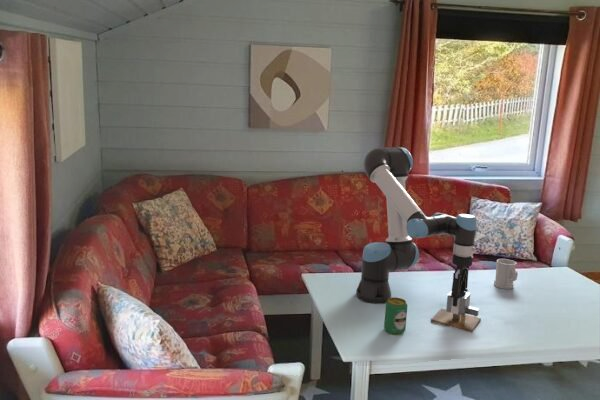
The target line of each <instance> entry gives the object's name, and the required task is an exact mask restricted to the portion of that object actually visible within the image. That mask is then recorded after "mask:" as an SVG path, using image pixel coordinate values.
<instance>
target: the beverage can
mask: <svg viewBox="0 0 600 400" xmlns="http://www.w3.org/2000/svg"><path fill="white" fill-rule="evenodd" d="M407 313H408V303H407V301H406V300H405V299H404V298H400V297H391V298H389V299H388V301H387V302H385V311H384V322H383V323H384V324H383V329H384V331H385V332H386V333H387V334H390V335H393V336H401V335H403V334H404V333H405V332H406V328H407Z"/></svg>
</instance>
